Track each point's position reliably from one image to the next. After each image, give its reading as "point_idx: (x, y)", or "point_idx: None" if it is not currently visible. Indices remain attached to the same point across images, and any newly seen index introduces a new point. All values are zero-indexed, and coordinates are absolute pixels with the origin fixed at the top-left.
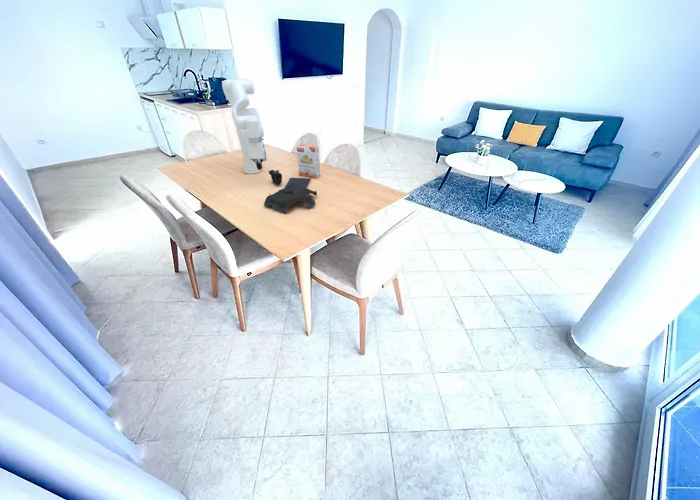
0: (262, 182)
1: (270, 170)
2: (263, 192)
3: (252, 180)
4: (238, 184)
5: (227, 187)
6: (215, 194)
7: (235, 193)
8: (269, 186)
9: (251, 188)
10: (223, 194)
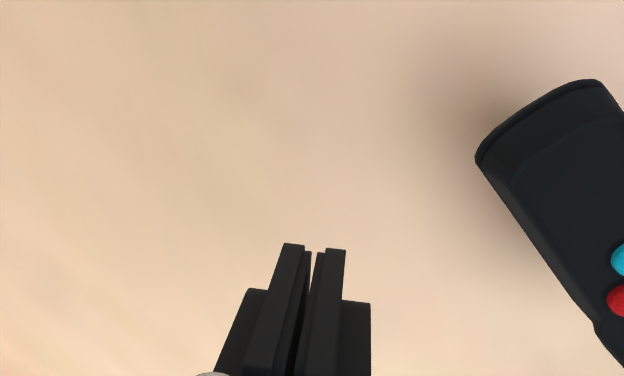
0: (331, 121)
1: (539, 153)
2: (401, 365)
3: (168, 50)
4: (68, 184)
5: (12, 254)
6: (18, 367)
7: (158, 364)
8: (446, 243)
9: (254, 283)
10: (76, 372)
